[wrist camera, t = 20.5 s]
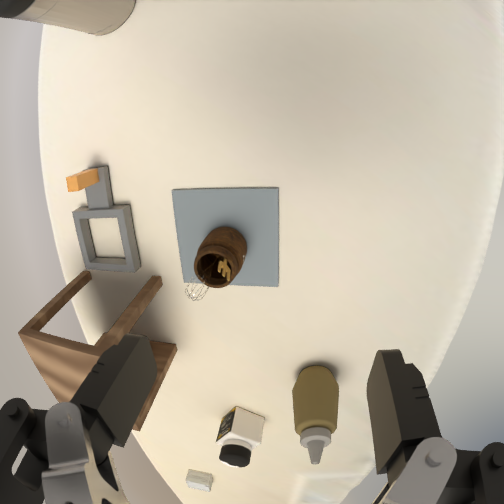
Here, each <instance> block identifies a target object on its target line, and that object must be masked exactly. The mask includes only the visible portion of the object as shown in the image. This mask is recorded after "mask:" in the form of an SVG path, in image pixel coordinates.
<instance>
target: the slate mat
mask: <svg viewBox="0 0 504 504" xmlns="http://www.w3.org/2000/svg"><path fill="white" fill-rule="evenodd" d="M172 198H173V207H174V215H175V223H176V231H177V238H178V246H179V253H180V260H181V266H182V273H183V279H184V283H190V282H191V281H192V280H193V279H194V278H195V277H196V278H195V279H194V280H193V281H192V282H191V283H194V282H195V283H198V282H199V283H202V282H201V281H200V280H199V279H198V278H197V276H196V275H195V272H194V261H195V257H196V255H197V251H198V248H199V246H200V245H201V243H202V242H203V240H204V239H205V237H206V236H207V235H208V234H209V233H210V232H211V231H212V230H214V229H216V228H218V227H231V228H234V229H236V230H237V231H239V232H240V233H241V234H242V235H243V237H244V238H245V240H246V243H247V254H246V258H245V261H244V263H243V266H242V268H241V270H240V272H239V273H238V274H237V275H236V277H235V278H234V280H233V281H232V282H231V283H230V284H229V285H242V286H267V287H278V274H279V202H278V188H209V189H179V190H172ZM191 278H192V279H191ZM196 279H197V280H196ZM195 280H196V281H195ZM189 281H190V282H189ZM202 284H203V283H202Z"/></svg>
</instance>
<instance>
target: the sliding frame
mask: <svg viewBox="0 0 504 504" xmlns="http://www.w3.org/2000/svg"><path fill="white" fill-rule="evenodd" d="M66 181H67V187H68V192H73V191H80V190H82V189H84V188H85V191H86V197H87V202H88V207H83V208H78V209H76V210H75V211H73V212H72V213H73V218H74V223H75V227H76V232H77V236H78V240H79V244H80V248H81V252H82V256H83V260H84V263H85V267H86V269H92V270H106V271H121V272H136V271H137V270H138V269H139V268H140V267H141V265H140V260H139V255H138V250H137V245H136V239H135V234H134V228H133V222H132V216H131V210H130V205H117V206H113V201H112V194H111V188H110V181H109V174H108V166H105V167H98V168H91V169H86V170H83V171H82V172H80V173H77V174H74V175H72V176H69V177H66ZM116 217H117V219H118V224H119V229H120V234H121V240H122V244H123V249H124V254H125V258H126V259H119V258H97V257H96V255H95V251H94V247H93V243H92V239H91V234H90V230H89V225H88V220H87V219H88V218H116Z"/></svg>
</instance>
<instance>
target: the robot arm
mask: <svg viewBox="0 0 504 504" xmlns="http://www.w3.org/2000/svg"><path fill="white" fill-rule="evenodd" d="M134 4H135V0H0V17H2V18H11V19H19V20H26V21H33V22H39V23H44V24H50V25H55V26H60V27H64V28H69V29H73V30H77V31H81V32H85V33H88V34H93V35H105V34H108V33H110V32H112V31H114V30H116V29H117V28H118V27H120V26H121V25H122V24H123V23H124V22H125V21H126V20H127V18H128V17H129V15H130V14H131V12H132V10H133V8H134ZM156 377H157V364H156V361H155V358H154V355H153V352H152V349H151V346H150V342H149V339H148V338H147V337H146V336H143V335H136V334H130V333H127V334H125V335H124V336H123V338H122V339H121V341H120V342H119V344H118V345H115V344H114V345H112V346H111V347H110V348H108V349H107V350H106V351H104V352H103V353H102V355H101V356H100V358H99V359H98V361H97V364H95V365H94V366H93V368H92V369H91V372H89V374H88V375H87V377H86V378H85V380H84V381H83V382H82V384H81V385H80V387H79V388H78V390H77V391H76V393H75V394H74V396H73V397H72V399H71V400H70V402H61V403H58V404H56V405H54V406H52V407H51V408H50V410H38V409H31V408H30V406H29V405H28V404H27V402H26V401H25V400H24V399H21V398H13V399H11V400H9V401H7V402H6V403H5V404H4V405H3V407H2V408H1V410H0V504H42V503H43V501H44V499H45V502H46V504H130V502H129V501H128V500H127V498H126V496H125V494H124V492H123V489H122V486H121V483H120V481H119V477H118V474H117V471H116V468H115V465H114V461H113V458H112V454H111V452H110V448H111V446H112V444H114V445H117V446H120V447H124V445H125V443H126V441H127V439H128V437H129V435H130V432H131V430H132V428H133V426H134V424H135V422H136V420H137V418H138V416H139V413H140V411H141V409H142V407H143V405H144V403H145V401H146V399H147V397H148V395H149V393H150V391H151V388H152V386H153V384H154V382H155V380H156ZM367 400H368V406H369V413H370V420H371V427H372V435H373V443H374V451H375V460H376V469H377V474H385V473H387V476H388V482H387V483H386V485H385V486H384V487H383V489H382V490H381V492H380V493H379V494H378V496H377V497H376V499H375V500H374V501H373V502H372V504H504V444H503V443H500V442H494V443H491V444H489V445H487V446H486V447H485V448H484V449H483V450H482V451H467V450H458V449H455V448H454V446H453V445H452V444H451V443H450V442H449V441H448V440H446V439H444V438H442V436H441V433H440V430H439V426H438V423H437V419H436V416H435V413H434V409H433V406H432V403H431V400H430V398H429V394H428V391H427V388H426V385H425V382H424V379H423V376H422V373H421V372H420V371H419V370H418V369H417V368H416V367H415V365H414V364H413V363H411V364H405V362H404V359H403V356H402V353H401V351H400V350H399V349H395V350H378V351H377V353H376V356H375V359H374V363H373V366H372V369H371V372H370V375H369V378H368V382H367ZM22 446H25V448H27V452H26V454H25V456H24V457H23V459H22V461H21V463H20V465H19V467H18V469H17V471H16V473H15V475H13V474H12V465H13V463H14V461H15V460H16V458H17V456H18V454H19V452H20V450H21V448H22Z"/></svg>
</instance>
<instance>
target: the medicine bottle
mask: <svg viewBox="0 0 504 504" xmlns="http://www.w3.org/2000/svg"><path fill="white" fill-rule="evenodd" d="M263 426H264V417H261V416H259V415H256V414H254V413H251V412H249V411H246V410H244V409H242V408H239V407H235V408H234V409H232V410H231V411H230V412H229V413H228V414H227V415H226V416H225V417H224V418H222V421H221V425H220V429H219V432H218V436H217V440H216V444H218V445H221V446H222V448H221V452H220V456H219V459H220V461H221V462H222V463H224V464H226V465H228V466H231V467H245V466H247V465H248V464H249V462H250V457H251V451H252V449H253V448H255V447H257V446H258V445H260V444H261V440H262V433H263Z"/></svg>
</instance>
